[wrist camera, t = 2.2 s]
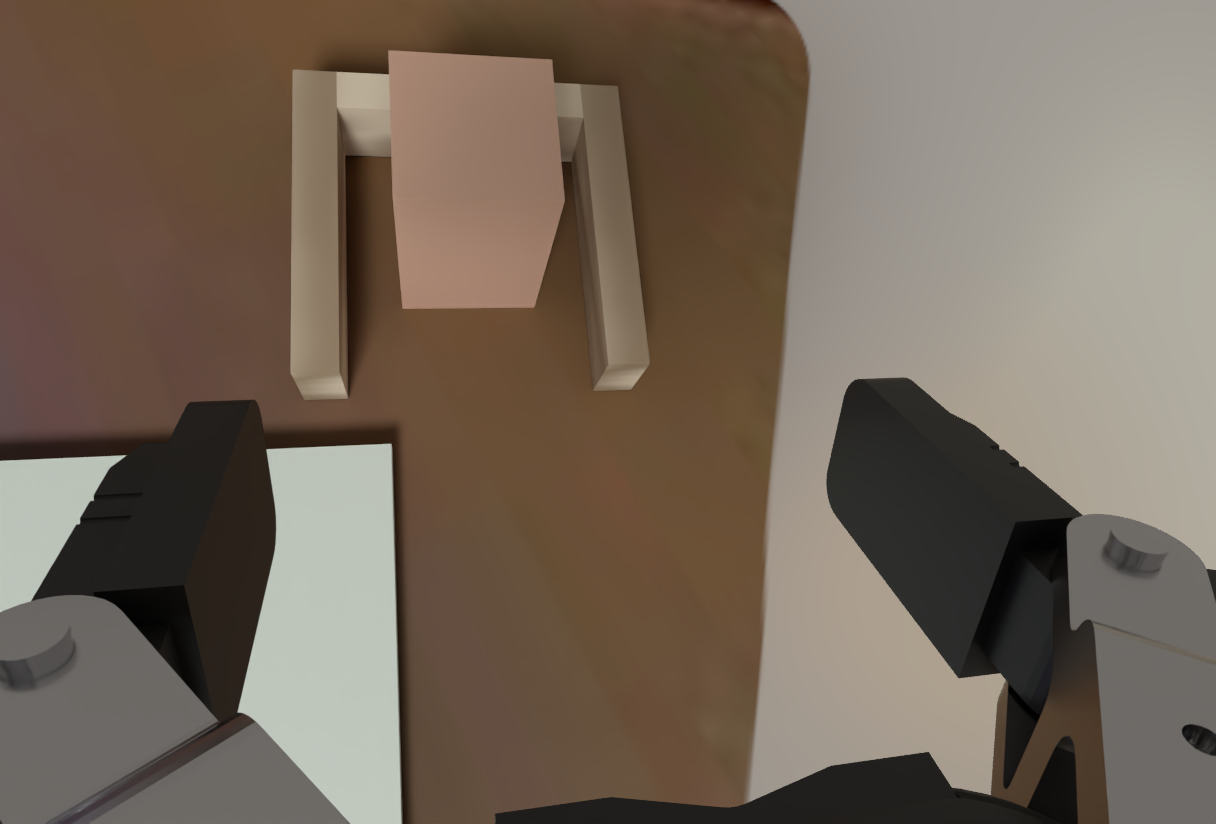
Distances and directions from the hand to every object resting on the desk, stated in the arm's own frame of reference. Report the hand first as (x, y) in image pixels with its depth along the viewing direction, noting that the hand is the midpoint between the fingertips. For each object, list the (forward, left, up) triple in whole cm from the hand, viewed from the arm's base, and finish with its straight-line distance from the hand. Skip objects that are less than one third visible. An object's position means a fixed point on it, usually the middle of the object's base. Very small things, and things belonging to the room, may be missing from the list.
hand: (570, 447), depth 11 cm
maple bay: (0, +13, -19) cm, 23 cm away
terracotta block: (0, +13, -19) cm, 23 cm away
